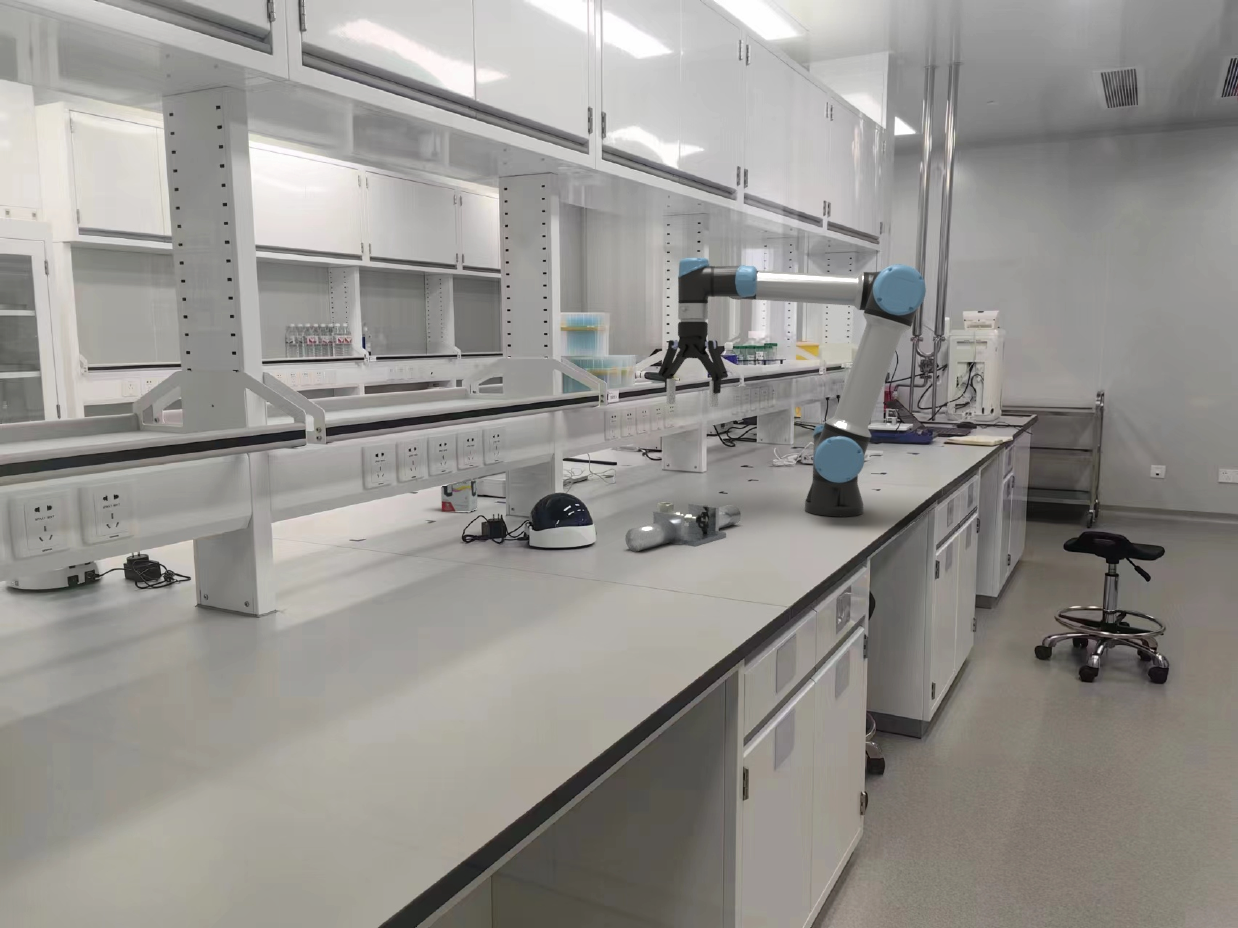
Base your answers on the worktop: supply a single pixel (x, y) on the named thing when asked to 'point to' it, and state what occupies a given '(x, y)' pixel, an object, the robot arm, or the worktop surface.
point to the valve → (699, 518)
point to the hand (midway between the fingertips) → (691, 405)
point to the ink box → (459, 497)
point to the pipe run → (682, 528)
